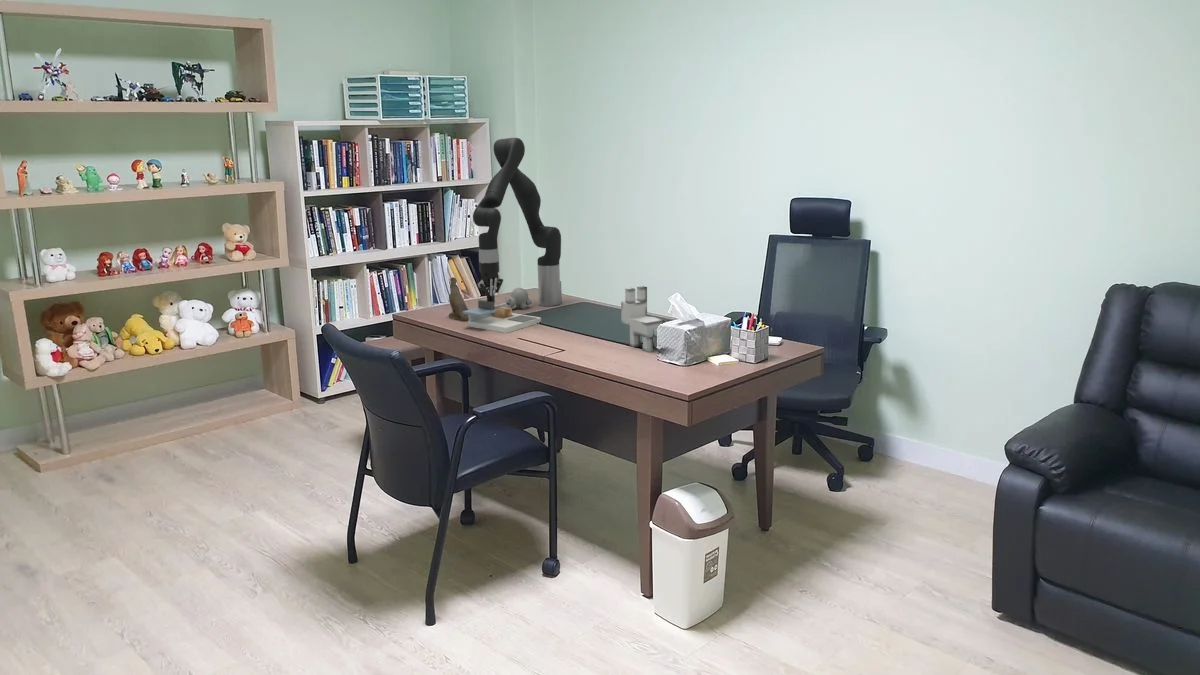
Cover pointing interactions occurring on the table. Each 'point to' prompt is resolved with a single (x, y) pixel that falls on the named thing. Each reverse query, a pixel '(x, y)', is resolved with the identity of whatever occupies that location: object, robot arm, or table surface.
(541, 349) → the table surface
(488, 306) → the sliding lid
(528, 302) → the round bodied animal figurine
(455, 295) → the worn brown figurine
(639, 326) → the toy llama
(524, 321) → the puzzle board
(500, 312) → the wooden block
